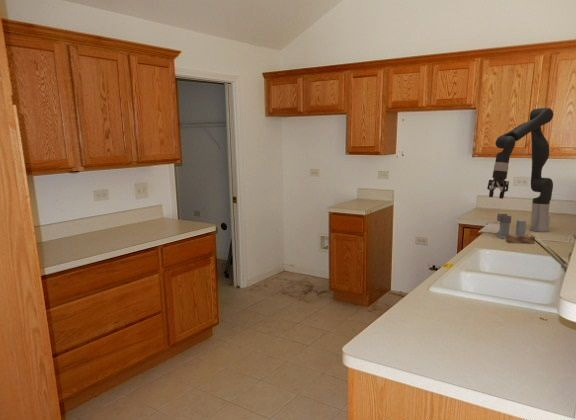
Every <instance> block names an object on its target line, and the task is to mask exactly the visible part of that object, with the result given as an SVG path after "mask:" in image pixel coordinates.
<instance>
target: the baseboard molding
mask: <svg viewBox="0 0 576 420" xmlns="http://www.w3.org/2000/svg"><path fill="white" fill-rule="evenodd" d="M499 230H500V223H496V221H494V222H493V223H490V222H489V221H488V223H487V224H485V226H484V227H482V228H481V229H480V230H479V231H478V232H477V233H479V234H491V235H496V234H499Z"/></svg>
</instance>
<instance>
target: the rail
mask: <svg viewBox="0 0 576 420" xmlns="http://www.w3.org/2000/svg"><path fill="white" fill-rule="evenodd" d="M535 239H536V237H535V236H533V235H526V234H525V235H507V236H506V239H505V242H507V244H527V245H535V243H536V240H535Z"/></svg>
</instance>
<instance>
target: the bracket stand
mask: <svg viewBox="0 0 576 420" xmlns="http://www.w3.org/2000/svg"><path fill="white" fill-rule="evenodd" d="M496 218H497V219H496V222H499V224H500V230H499V232H498V233H497V234H495V236H496V238H498V239H502V240H504V239H505V240H506V236H507V235H526V225H527V221H526V220H524V219H516V225H515V226H516V228H515V234H514V233H513V234H512V233H510V224H512V215H508V213H497V216H496Z"/></svg>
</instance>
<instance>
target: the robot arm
mask: <svg viewBox="0 0 576 420" xmlns="http://www.w3.org/2000/svg"><path fill="white" fill-rule="evenodd" d="M553 117H554V111H553V109H551V108H549V107H540V108H534V109H531V111H530V114H529V120H528V121H526V122H523V123H521V124H519V125H517V126H515V127H514V128H513V129H511V130H510V131H508V132H506V133H504V134H501V135H500V136H499V137H497V139H496V140H495V146H496V147H497V148H498V149H502V151H500V152H498V153H496V156H495V161H494V165H493V172H492V179H488V184H487V187H486V189H487V190H488V191H489V193H488V197H489V198H493V197H494V193H495V190H496V189H499V191H500V192H499V197H498V198H499V199H501V200H503V199H504V198H505V193H506V192H509V184H510V180H509V181H508V180H506V179H508V171H509V164H510V157H511V155H512V153H513V151H514V149H515V146H516V142H517V141H520V140H521V139H523V138H524V137H525V136H527V135H528V134H530V133H531V134H530V135H531V174H530V175H531V176H530V189H531V190H532V192H535V193H539V196H537V197H534V198H532V201H531V202H532V203H531V206H532V207H531V214H530V227H529V230H530V231H532V232H541V233H546V232H549V230H550V218H551V217H550V215H549V214H550V203H551V200H552V195H553V191H554V190H553V189H554V181H553V180H552V178H549V177H542V173H543V167H544V166H545V164H546V163H547V161H548V160H549V157H550V144H549V142H548V140H547V138H546V137H545V135H544V134H543V131H542V126H544V125H546V124H548V123H550V122H551V121H552V120H553Z"/></svg>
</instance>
